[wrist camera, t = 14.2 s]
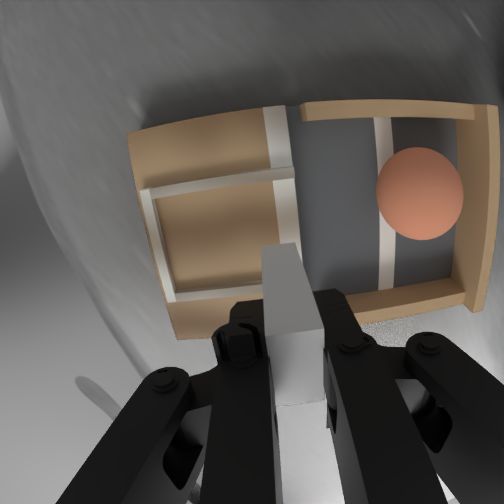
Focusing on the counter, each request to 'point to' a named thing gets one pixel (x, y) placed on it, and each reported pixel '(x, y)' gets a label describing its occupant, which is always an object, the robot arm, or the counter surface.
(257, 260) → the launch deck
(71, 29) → the counter surface
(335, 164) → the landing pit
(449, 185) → the ball
